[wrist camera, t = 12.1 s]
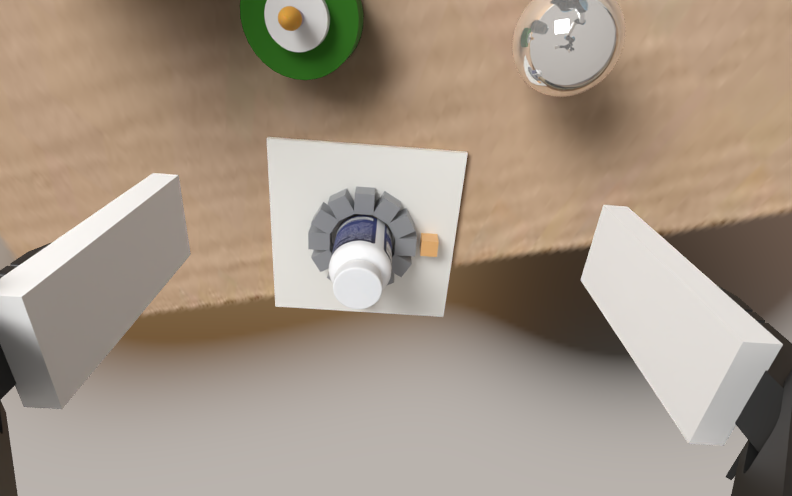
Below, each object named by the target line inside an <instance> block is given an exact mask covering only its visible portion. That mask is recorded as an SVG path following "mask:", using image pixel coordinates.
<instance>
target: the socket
mask: <svg viewBox="0 0 792 496" xmlns="http://www.w3.org/2000/svg"><path fill="white" fill-rule="evenodd" d="M267 155H268V174H269V193H270V212H271V231H272V250H273V269H274V288H275V306H277V307H293V308H309V309H326V310H341V311H356V312H372V313H388V314H405V315H420V316H436V317H443V316H444V310H445V303H446V296H447V289H448V283H449V275H450V269H451V263H452V256H453V249H454V242H455V236H456V229H457V222H458V215H459V209H460V202H461V195H462V188H463V182H464V175H465V168H466V162H467V155H468V153H467V152H466V151H452V150H439V149H426V148H412V147H399V146H386V145H372V144H359V143H345V142H332V141H319V140H305V139H292V138H279V137H268V138H267ZM353 214H364V215H373V216H375V217H377V218H378V219H380V220H381V221H383V222H385V223H386V224H387V225H388V226H389V228H390V231H391V235H392V271H391V277H390V280H389V282H388V284H387V286H386V287H385V288H384V289H383V290H382V294H381V297H380V299H379V300H378V301H377V302H376V303H375V304H374V305H372V306H371V307H368V308H365V309H352V308H348V307H346V306H344V305H343V304H341V303H340V302H339V301H338V300H337V299H336V297H335V295H334V292H333V283H332V281H331V279H330V276H329V263H330V258H331V255H332V251H333V247H334V243H335V239H336V234H337V231H338V228H339V226H340V224H341V223H342V221H343V220H344V219H345V218H347V217H349V216H351V215H353Z"/></svg>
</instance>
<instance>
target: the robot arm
mask: <svg viewBox="0 0 792 496" xmlns="http://www.w3.org/2000/svg"><path fill="white" fill-rule="evenodd" d="M190 255H191V254H190V247H189V241H188V234H187V228H186V221H185V214H184V208H183V201H182V195H181V188H180V181H179V175H172V174H158V173H153V174H151V175H150V176H148V177H147V178H145V179H144V180H142V181H141V182H139V183H138V184H137V185H135V186H134V187H132V188H131V189H129V190H128V191H126V192H125V193H124V194H122V195H121V196H119V197H118V198H116V199H115V200H113V201H112V202H110V203H109V204H108V205H106V206H105V207H103V208H102V209H100V210H99V211H97V212H96V213H94V214H93V215H92V216H90V217H89V218H87V219H86V220H84V221H83V222H81V223H80V224H79V225H77V226H76V227H74V228H73V229H71V230H70V231H68V232H67V233H65V234H64V235H63V236H61V237H60V238H58V239H57V240H55V241H54V242H52V243H49V244H47V245H44V246H42V247H39V248H37V249H34V250H32V251H29V252H27V253H26V254H24V255H23V256H21V257H20V258H18V259H17V260H15V261H14V262H12V263H11V265H10V266H6V267H5V268H3V269H2V270H0V399H2V397H3V396H4V395H6V393H8V392H9V390H10V389H12V387H14V386H16V389H17V391H18V394H19V396H20V398H21V401H22V403H23V406H24V407H35V408H53V409H63V407H64V406H65V405H66V404H67V403H68V401H69V400H70V399H71V398H72V396H73V395H74V394H75V393H76V392H77V390H78V389H79V388H80V387H81V386H82V384H83V383H84V382H85V381H86V380H87V379H88V377H89V376H90V375H91V374H92V372H93V371H94V370H95V369H96V368H97V366H98V365H99V364H100V363H101V362H102V360H103V359H104V358H105V357H106V356H107V354H108V353H109V352H110V351H111V350H112V348H113V347H114V346H115V345H116V343H117V342H118V341H119V340H120V339H121V337H122V336H123V335H124V334H125V333H126V331H127V330H128V329H129V328H130V327H131V326H132V324H133V323H134V322H135V321H136V320H137V318H138V317H139V316H140V315H141V314H142V312H143V311H144V310H145V309H146V307H147V306H148V305H149V304H150V303H151V301H152V300H153V299H154V298H155V297H156V295H157V294H158V293H159V292H160V291H161V289H162V288H163V287H164V286H165V285H166V283H167V282H168V281H169V280H170V279H171V277H172V276H173V275H174V274H175V273H176V271H177V270H178V269H179V268H180V267H181V265H182V264H183V263H184V262H185V261H186V259H187V258H188V257H189V256H190ZM581 281H582V282H583V284H584V286H585V287H586V289H587V290H588V292H589V293H590V295H591V296H592V298H593V299H594V301H595V302H596V304H597V306H598V307H599V309H600V310H601V312H602V313H603V315H604V316H605V318H606V319H607V321H608V322H609V324H610V325H611V327H612V328H613V330H614V331H615V333H616V334H617V336H618V337H619V339H620V340H621V342H622V343H623V345H624V346H625V348H626V349H627V351H628V353H629V354H630V356H631V357H632V359H633V360H634V362H635V363H636V364H637V366H638V368H639V369H640V371H641V372H642V374H643V375H644V377H645V378H646V380H647V381H648V383H649V384H650V386H651V387H652V389H653V390H654V392H655V394H656V395H657V397H658V398H659V399H660V401H661V403H662V404H663V406H664V407H665V409H666V410H667V412H668V413H669V415H670V416H671V418H672V419H673V421H674V422H675V424H676V425H677V427H678V428H679V430H680V431H681V433H682V434H683V436H684V437H685V439H686V441H687V442H688V443H689V444H701V445H719V446H724V444H725V443H726V441H727V439H728V438H729V436H730V434H731V433H732V431H733V429H734V427H735V426H736V425H737V426H738V427H739V429H740V430H741V431H742V432H743V434H744V435H745V436H746V437H747V439H748V441H747V443H746V444H745V446H744V448H743V449H742V451H741V453H740V454H739V456H738V457H737V459H736V461H735V462H734V464H733V465H732V467H731V469H730V470H729V472H728V474H727V475H726V477H727V478H729V479H730V480H732V479H733V478H734V477H735V480H734V485H733V489H732V494H731V496H792V344H791V343H790V342H789V341H788V340H787V339H786V338H784V337H783V336H782V335H781V334H780V333H779V332H778V331H776V330H775V329H774V328H773V327H772V326H771V325H770V324H768V323H765V320H764V319H763V318H761V317H760V316H759V315H758V314H757V313H755V312H752V309H751V308H750V307H749V306H748V305H746V304H745V303H744V302H743V301H742V300H741V299H740V298H738V297H737V296H735V295H733V294H732V293H730V292H728V291H726V290H725V289H723V288H721V287H719V286H717V285H715V284H714V283H713V282H712V281H711V280H710V279H709V278H707V277H706V276H705V275H704V274H703V273H702V272H701V271H700V270H698V269H697V268H696V267H695V266H694V265H693V264H691V263H690V262H689V261H688V260H687V259H686V258H685V257H684V256H683V255H682V254H680V253H679V252H678V251H677V250H676V249H675V248H674V247H672V246H671V245H670V244H669V243H668V242H667V241H666V240H665V239H663V238H662V237H661V236H660V235H659V234H658V233H657V232H656V231H654V230H653V229H652V228H651V227H650V226H649V225H648V224H647V223H645V222H644V221H643V220H642V219H641V218H640V217H639V216H637V215H636V214H635V213H634V212H633V211H632V210H631V209H630V208H628V207H625V206H611V205H603V208H602V211H601V215H600V218H599V221H598V224H597V228H596V231H595V234H594V238H593V241H592V244H591V248H590V251H589V254H588V257H587V261H586V264H585V267H584V271H583V274H582V277H581ZM0 496H18V495H17V488H16V481H15V474H14V466H13V460H12V453H11V446H10V438H9V431H8V424H7V417H6V412H5V409H4V407H3V405H2V403H1V400H0Z"/></svg>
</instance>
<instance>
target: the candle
mask: <svg viewBox="0 0 792 496" xmlns="http://www.w3.org/2000/svg"><path fill="white" fill-rule="evenodd" d="M240 17H241V22H242V27H243V31H244V33H245V36H246V38H247V40H248V43H249V44H250V46H251V48H252V49H253V51H254V52H255V54H256V55H257V56H258V57H259V58H260V59H261V60H262V62H263V63H264V64H266V65H267V66H268V67H270V68H271V69H272V70H274V71H275V72H277V73H279V74H281V75H283V76H286V77H289V78H293V79H300V80H310V79H317V78H320V77H323V76H326V75H328V74H329V73H331V72H333V71H334V70H336V69H337V68H338V67H339V66H340V65H341V64H342V63H343V62H345V60H346V59H347V58H348V57H349V56H350V55H351V54H352V53H353V51H354V50H355V48H356V47H357V44H358V42H359V40H360V38H361V34H362V29H363V17H364V16H363V8H362V3H361V0H240Z"/></svg>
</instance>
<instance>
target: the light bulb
mask: <svg viewBox="0 0 792 496" xmlns="http://www.w3.org/2000/svg"><path fill="white" fill-rule="evenodd" d="M625 35H626V26H625V18H624V15H623V12H622V9H621V7H620V6H619V4H618V2H617V0H531V1H530V3H529V4H528V5H527V6H526V8H525V9H524V10H523V12H522V14H521V15H520V17H519V19H518V21H517V24H516V27H515V30H514V33H513V39H512V55H513V60H514V64H515V66H516V69H517V71H518V73H519V74H520V76H521V77H522V78H523V80H524V81H525V82H526V83H527V84H528V85H529V86H530V87H531V88H532V89H534V90H536V91H538V92H540V93H542V94H546V95H549V96H554V97H568V96H574V95H577V94H580V93H583V92H585V91H587V90H589V89H591V88H593V87H595V86H596V85H597V84H599V83H600V82H601V81H602V80H604V79H605V78H606V76H607V75H608V74H609V73H610V72H611V71H612V69H613V68H614V66H615V65H616V63H617V62H618V60H619V57H620V55H621V53H622V50H623V46H624V43H625Z"/></svg>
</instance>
